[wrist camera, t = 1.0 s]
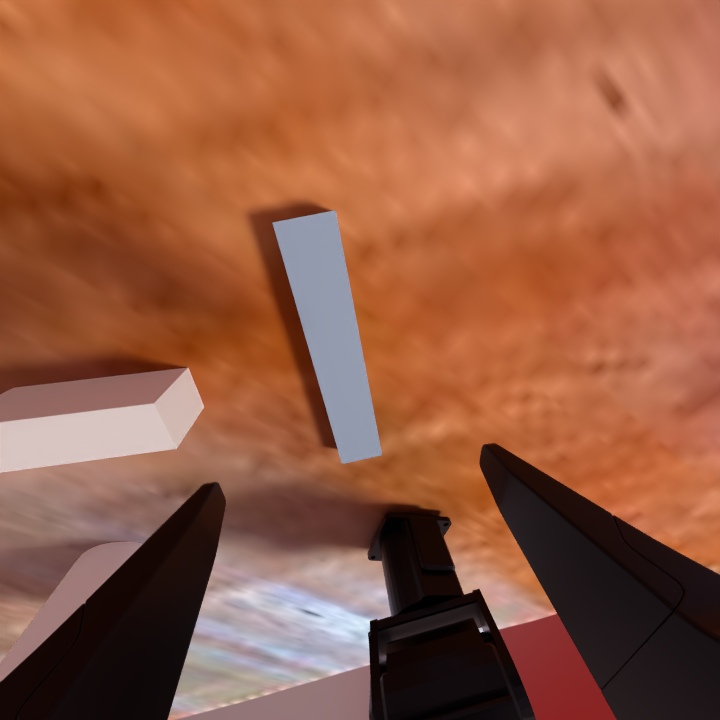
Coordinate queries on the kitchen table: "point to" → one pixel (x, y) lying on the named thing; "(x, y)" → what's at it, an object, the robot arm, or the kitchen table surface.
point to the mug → (68, 597)
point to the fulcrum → (96, 418)
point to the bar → (330, 329)
